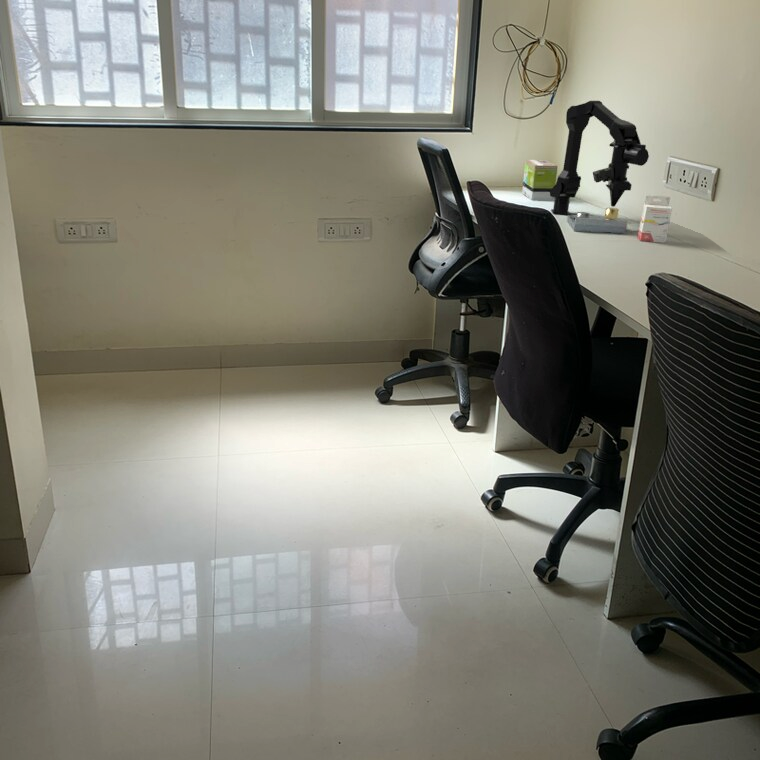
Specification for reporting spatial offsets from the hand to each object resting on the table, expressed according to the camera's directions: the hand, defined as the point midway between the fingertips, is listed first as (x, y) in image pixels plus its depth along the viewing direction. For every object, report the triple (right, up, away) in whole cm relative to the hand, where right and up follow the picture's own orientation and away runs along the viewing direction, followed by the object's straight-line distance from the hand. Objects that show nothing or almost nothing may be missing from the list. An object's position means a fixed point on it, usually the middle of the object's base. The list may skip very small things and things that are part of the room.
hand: (612, 206), depth 278 cm
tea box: (-16, +16, +55) cm, 60 cm away
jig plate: (-5, -7, +3) cm, 9 cm away
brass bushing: (0, -7, +3) cm, 8 cm away
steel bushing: (-10, -7, +3) cm, 13 cm away
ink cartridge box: (+10, -14, -12) cm, 21 cm away
